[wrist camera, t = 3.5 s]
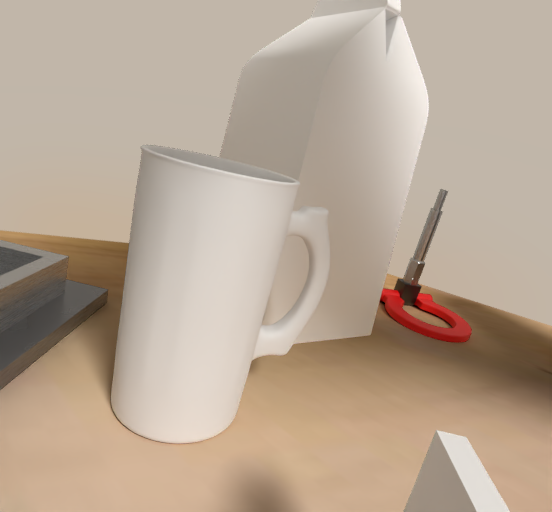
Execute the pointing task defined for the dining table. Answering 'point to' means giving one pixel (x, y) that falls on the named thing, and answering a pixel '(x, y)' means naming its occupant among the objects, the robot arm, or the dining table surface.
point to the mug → (205, 289)
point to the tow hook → (409, 293)
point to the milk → (336, 149)
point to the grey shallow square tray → (38, 305)
